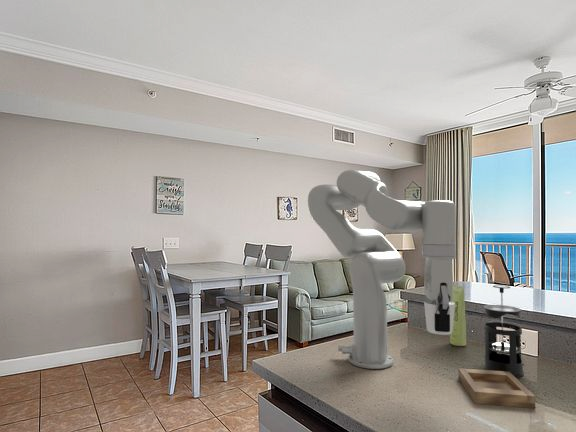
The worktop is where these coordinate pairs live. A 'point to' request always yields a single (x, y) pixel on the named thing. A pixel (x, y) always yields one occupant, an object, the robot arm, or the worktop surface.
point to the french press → (500, 360)
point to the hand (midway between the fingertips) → (439, 326)
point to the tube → (458, 317)
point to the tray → (496, 388)
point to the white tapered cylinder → (430, 316)
